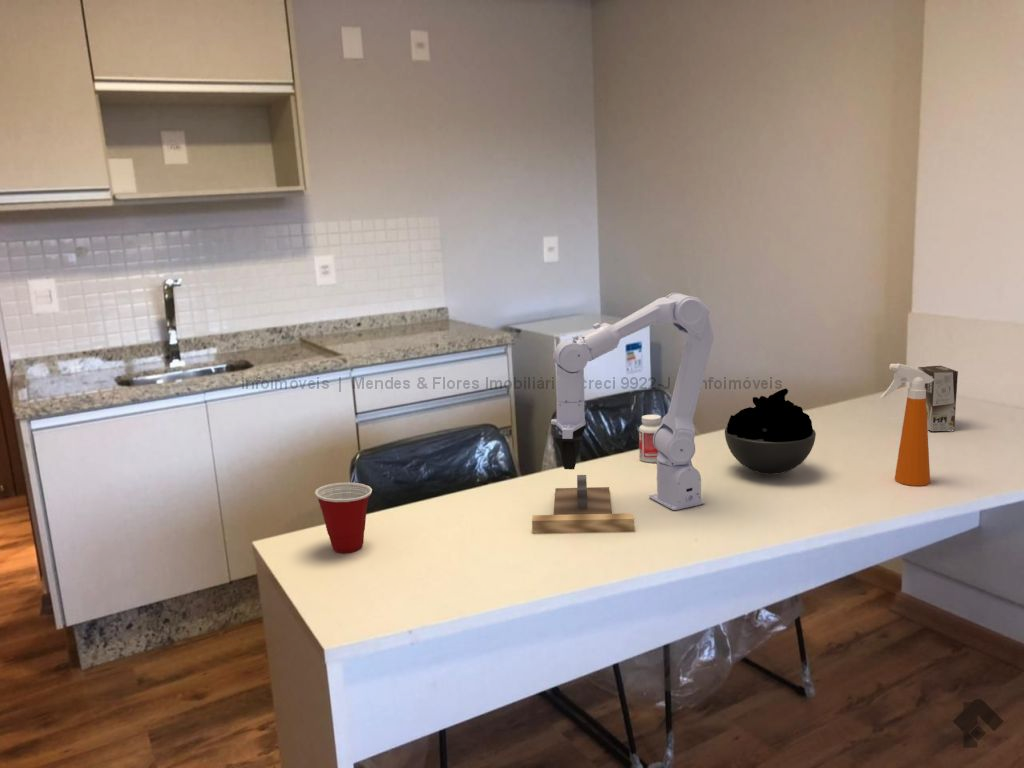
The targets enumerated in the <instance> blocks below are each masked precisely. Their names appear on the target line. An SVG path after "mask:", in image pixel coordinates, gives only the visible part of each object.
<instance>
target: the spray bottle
mask: <svg viewBox="0 0 1024 768" xmlns="http://www.w3.org/2000/svg"><path fill="white" fill-rule="evenodd" d="M889 370H890V371H894V373H893V380H892V382H891V383H890V385H889V386H888V387H887V389H886V390H885V392H884V393H883V394H882V395H880V396H879V397H880V399H881V400H882V399H883V398H885V397H887V396H889V395H891V394H892V393H893V392H895V391H896V390H897V389H898V387H900V386H902V385H903V384H904V383H907V382H908V383H909V387H908V388H907V397H906V402H905V403H906V404H905V410H904V415H903V422H902V428H901V436H900V441H899V448H898V455H897V461H896V468H895V475H894V480H895V482H897V483H898V482H899V483H898V484H901V485H903V486H909V485H910V486H912V487H922V486H927V485H929V484H930V483H931V470H930V469H931V468H930V455H929V454H930V452H929V448H930V447H929V433H928V432H929V431H928V429H927V410H926V389H925V383H930V382H932V381H934V379H933V378H932V377H930V376H929V375H928V374H926V373H924V372H923V371H920V370H918V368H915V367H912V366H910V365H906V364H901V363H890V364H889ZM910 486H909V487H910Z"/></svg>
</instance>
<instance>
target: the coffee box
mask: <svg viewBox="0 0 1024 768" xmlns="http://www.w3.org/2000/svg"><path fill="white" fill-rule="evenodd" d="M917 369H918V370H920V371H923V372H924V373H926V374H928V375H929V376H930V377H932V378H933V379H934V381H932V382H930V383H925V389H926V410H927V429H928V430H930V431H948V430H950V432H953V431H952V430H954V431H955V425H956V422H955V421H956V407H957V393H958V392H957V391H958V376H959V371H957V370H955V369H951V368H950V367H946V366H943V365H928V366H918V368H917ZM930 431H929V432H930Z"/></svg>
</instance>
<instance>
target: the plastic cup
mask: <svg viewBox="0 0 1024 768" xmlns="http://www.w3.org/2000/svg"><path fill="white" fill-rule="evenodd" d="M372 491H373V489H372V488H371V486H369V485H366V484H364V483H357V482H336V483H329V484H326V485H322V486H320V487H318V488H316V489H315V491H314V495H315V497H316V498H317V500H318V503H319V508H320V510H321V514H322V516H323V520H324V524H325V528H326V532H327V535H328V536H329V541H330V544H331V547H332V550H333V551H334V552H335V553H338V554H350V553H355V552H357V551H359V550H361V549H363V545H364V539H365V531H366V530H365V529H366V522H367V521H366V518H367V510H368V503H369V498H370V496H371V495H372Z"/></svg>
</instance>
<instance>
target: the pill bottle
mask: <svg viewBox="0 0 1024 768" xmlns="http://www.w3.org/2000/svg"><path fill="white" fill-rule="evenodd" d="M661 421H662V416H661V415H658V414H645V415H642V416H641V423H642V424H641V425H640V426H639V427H638V438H639V440H638V442H639V443H638V444H639V446H638V447H639V448H638V449H639V459H640V461H642V462H644V463H657V456H658V450H657V449H656V448H655V446H654V444H653V436H654V433H655V432H656V430H657V429H658V428H659V426H660V425H661Z"/></svg>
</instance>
